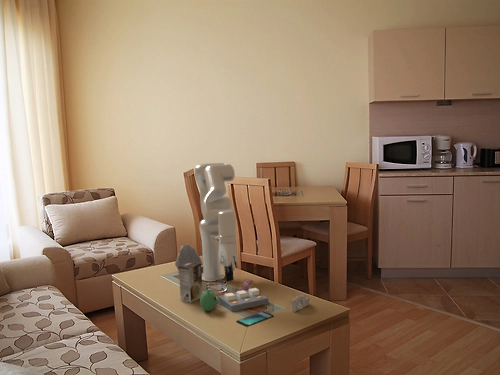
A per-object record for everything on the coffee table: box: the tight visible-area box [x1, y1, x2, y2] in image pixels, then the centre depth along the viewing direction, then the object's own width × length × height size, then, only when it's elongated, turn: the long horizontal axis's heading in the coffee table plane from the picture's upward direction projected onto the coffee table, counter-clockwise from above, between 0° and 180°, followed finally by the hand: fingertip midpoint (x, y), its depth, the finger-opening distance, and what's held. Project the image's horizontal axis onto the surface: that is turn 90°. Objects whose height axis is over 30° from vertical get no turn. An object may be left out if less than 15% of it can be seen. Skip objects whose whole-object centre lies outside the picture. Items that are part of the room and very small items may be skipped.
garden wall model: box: [290, 293, 311, 313], centre depth 198 cm, size 12×2×6 cm, turn 139°
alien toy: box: [199, 286, 219, 312], centre depth 198 cm, size 7×8×10 cm
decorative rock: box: [174, 243, 203, 271], centre depth 259 cm, size 16×7×15 cm, turn 118°
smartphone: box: [235, 310, 275, 328], centre depth 188 cm, size 7×1×15 cm
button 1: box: [223, 292, 235, 301], centre depth 205 cm, size 4×4×3 cm
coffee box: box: [178, 262, 204, 304], centre depth 213 cm, size 9×6×16 cm
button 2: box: [248, 287, 260, 296], centre depth 210 cm, size 4×4×3 cm
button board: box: [217, 290, 270, 312], centre depth 207 cm, size 14×18×3 cm
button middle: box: [235, 290, 247, 299], centre depth 207 cm, size 4×4×3 cm
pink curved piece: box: [238, 278, 253, 291], centre depth 221 cm, size 10×5×7 cm, turn 169°
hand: (229, 280), depth 203 cm, fingers closed
